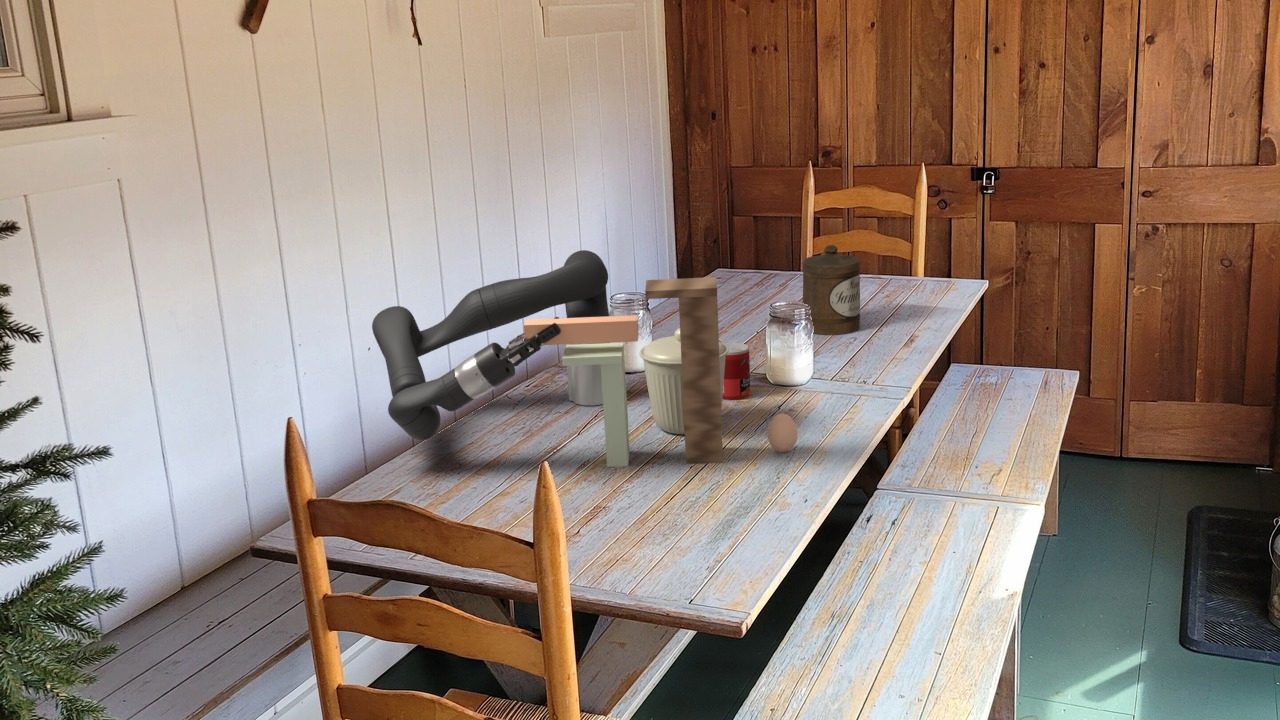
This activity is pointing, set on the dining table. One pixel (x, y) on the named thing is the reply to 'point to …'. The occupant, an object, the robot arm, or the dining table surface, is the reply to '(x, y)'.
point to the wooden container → (832, 292)
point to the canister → (670, 380)
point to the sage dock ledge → (608, 394)
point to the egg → (782, 433)
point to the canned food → (736, 372)
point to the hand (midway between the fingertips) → (559, 324)
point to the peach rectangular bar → (587, 329)
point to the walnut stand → (697, 363)
